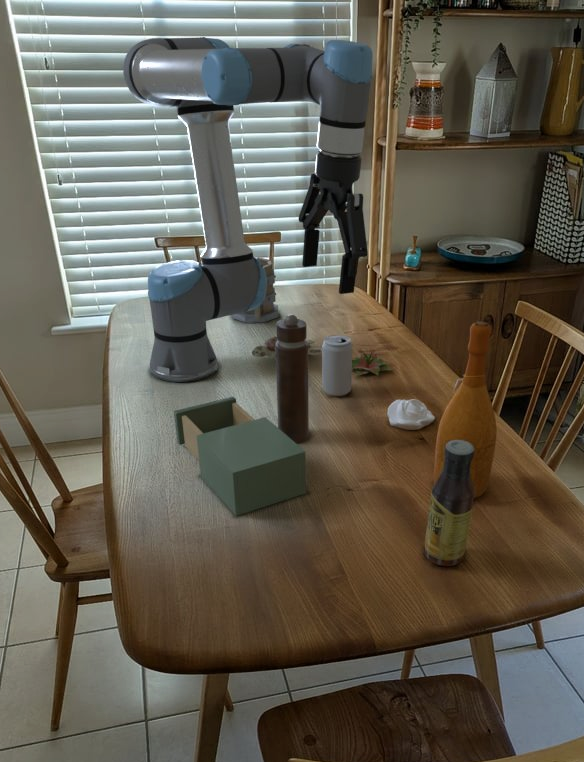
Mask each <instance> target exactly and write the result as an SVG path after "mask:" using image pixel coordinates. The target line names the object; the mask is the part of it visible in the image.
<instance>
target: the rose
mask: <svg viewBox="0 0 584 762" xmlns="http://www.w3.org/2000/svg"><path fill="white" fill-rule="evenodd" d="M386 413H387V417H388V422H389V424H390V426H392V427H396V428H399V429H403V430H409V431H410V430H411V431H412V430H413V431H415V430H420V429H422V428H424V427H427V426H429V425H430V424H432V423H433V422H434V421H435V419H436V417H435V415H433V413H432V412H431V410H429V409H428V407H427V405H426V404H425V403H423V402H422V401H420V400H419V399H417V398H412V399H395V400H394V401H392V402H391V403H390V404H389V406H388V408H387V412H386Z"/></svg>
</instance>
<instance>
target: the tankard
mask: <svg viewBox="0 0 584 762" xmlns="http://www.w3.org/2000/svg"><path fill="white" fill-rule="evenodd" d="M255 257H256V256H255ZM256 258H258V259H259V260H260V261H261V262H262V264H263V268H264V269H265V272H266V276H267V291H266V296H265V299H264V300H263V302H262V304H261V305H260V306H259V307H258V308H256V309H254V310H250V311H247V312H246V313H243V314H240V313H238V314H234V315H230V316H231V318H232V319H234V320H237V321H239V322H243V323H245V324H246V323H250V324H251V323H267V322H269V321H272V320H274V319H277V318H279V307H278V304H276V303H275V302H276V296H277V292H276V289H275V287H274V284H275V283H276V275H275V269H274V268H273V260H272V259H268V258H264V257H256Z"/></svg>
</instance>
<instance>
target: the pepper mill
mask: <svg viewBox="0 0 584 762" xmlns="http://www.w3.org/2000/svg"><path fill="white" fill-rule="evenodd" d="M275 327H276V328H275V329H276V332H275V333H276V336H277V339H278V341H277V342H276V343H275V352H276V360H275V377H276V378H275V379H276V407H277V408H276V409H277V410H276V411H277V412H276V413H277V427H278V428H279V429H280V430H281V431H282V432H283V433H285V434H286V435H287V436H288V437H289V438H290V439H291V440H293V441H294V442H295V443H296V444H299V443H302V442H304V441H306V440H308V439H309V437H310V430H309V429H310V423H309V421H310V419H309V417H310V416H309V413H310V412H309V411H310V408H309V407H310V406H309V405H310V403H309V402H310V401H309V398H310V397H309V396H310V395H309V354H308V342H307V341H305V340H306V339H307V336H308V335H307V332H308V331H307V322H306V320H304V319H303V320H302V319H301V318H298V317H297V316H296V315H294V314H292V313H291V314H288V315H286V317H285V318H282V319H280V320H278V321H277V322H276V323H275Z"/></svg>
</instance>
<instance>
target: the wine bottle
mask: <svg viewBox="0 0 584 762" xmlns="http://www.w3.org/2000/svg"><path fill="white" fill-rule="evenodd" d="M492 332H493V329H492V325H491V324H489V323H488V322H485V321H476V322H474V323H472V324H471V326H470V328H469V340H468V341H469V342H468V344H467V351H468V359H467V365H466V368H465V372H464V374H462V376H463V377H461V378H457V379H456V382H455V384H454V387H453V392H452V393H454V394H453V396H452V397H451V399H450V400H449V402H448V404H447V406H446V408H445V410H444V411H443V414H442V416H441V419H440V421H439V426H438V429H437V435H436V443H435V453H434V466H433V467H434V468H433V486H434V485H435V483H436V481H437V479H438V478H439V476H440V474H441V472H442V470H443V467H444V460H445V454H444V451H445V446H446V444H447V443H448V442H450V441H453V440H463V441H466V442H469V443H471V444H472V445H473V447H474V457H473V458H472V460H471V466H470V474H469V476H470V478H471V479H472V481H473V484H474V489H475V492H474V498H473V499H477V498H479V497H480V496H483V494H485V492H486V491H487V489H488V486H489V482H490V478H491V473H492V467H493V461H494V456H495V450H496V443H497V428H498V427H497V419H496V415H495V414H496V413H495V411H494V407H493V403H492V400H491V397H490V394H489V390H488V387H487V383H486V372H485V371H486V370H485V368H486V361H487V354H488V353H489V351H490V340H491V336H492Z"/></svg>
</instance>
